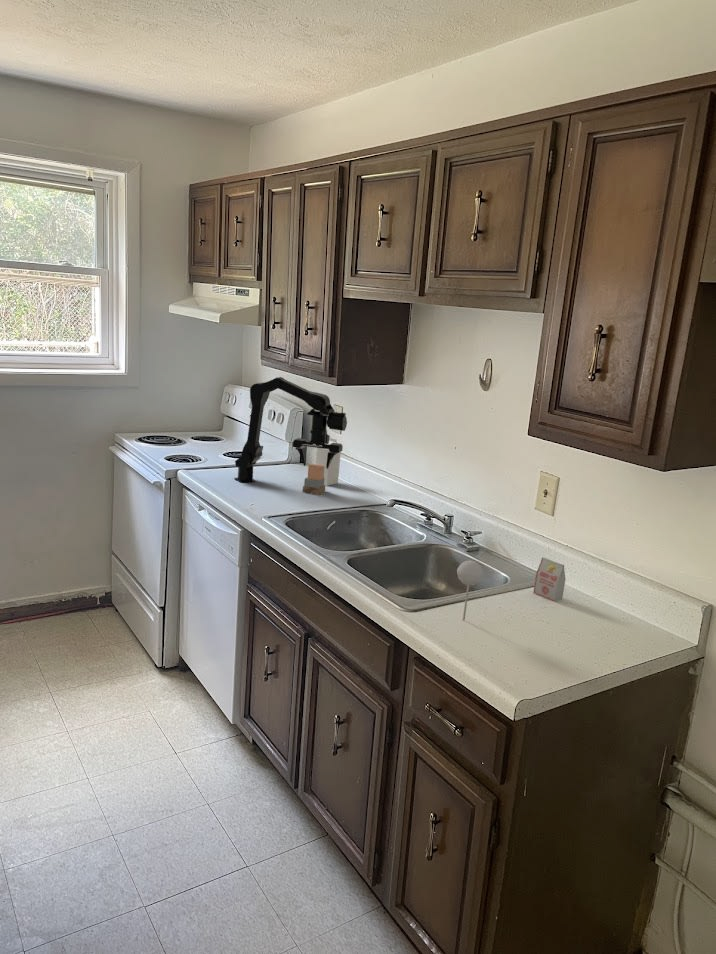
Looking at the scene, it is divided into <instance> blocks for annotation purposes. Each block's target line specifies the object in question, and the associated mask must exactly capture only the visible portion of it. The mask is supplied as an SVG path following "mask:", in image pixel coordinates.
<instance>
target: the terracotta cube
mask: <svg viewBox="0 0 716 954" xmlns="http://www.w3.org/2000/svg"><path fill="white" fill-rule="evenodd" d="M324 467H325V466H324V465H317V464H316V463H312V464H310V465H308V468H307V477H308V479H313V480H321V479H323V478H324Z"/></svg>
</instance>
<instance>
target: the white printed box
mask: <svg viewBox="0 0 716 954" xmlns="http://www.w3.org/2000/svg"><path fill="white" fill-rule="evenodd" d="M535 573H536V574H535V580H534V586H533V592H532V593H533V594H535V595H536V596H540V597H542V598H544V599H546V600H549V601H551V602H553V603H555V602H559V601H562V600H563V597H564V592H565V585H566V574H565V573H566V572H565V564H561V563H559V562H557V561H554V560H551V559H549V558H546V557H541V560H540V563H539V566H538V568H537V571H536V572H535Z"/></svg>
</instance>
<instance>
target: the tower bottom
mask: <svg viewBox="0 0 716 954" xmlns="http://www.w3.org/2000/svg"><path fill="white" fill-rule="evenodd" d="M324 491H326V485H324V486H322V487H320V488H319V489H318V488H312V487H307V486H304V485H303V486H302V493H303V492H305V494H310V493H312V494H311V495H316V494H318V495H317V496H321V495H322V494H323V493H324ZM321 493H322V494H321Z"/></svg>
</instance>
